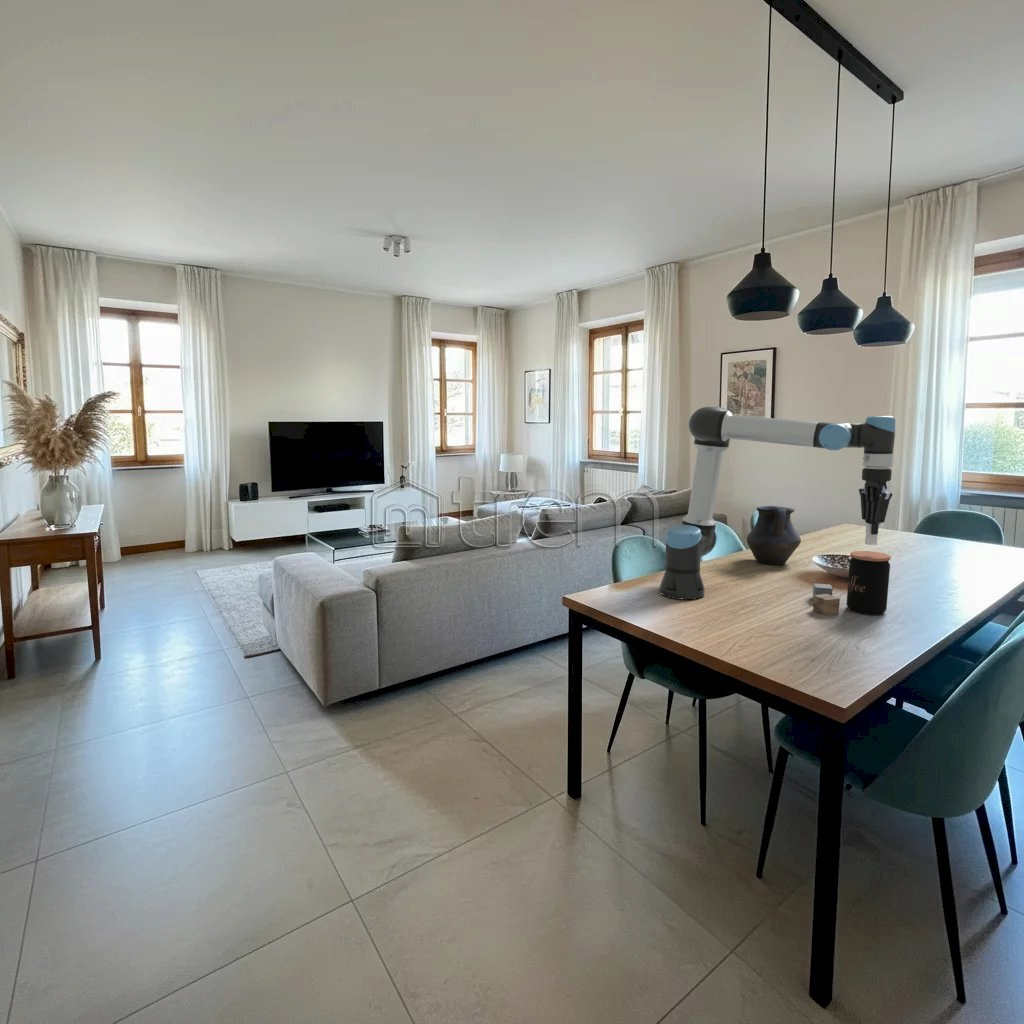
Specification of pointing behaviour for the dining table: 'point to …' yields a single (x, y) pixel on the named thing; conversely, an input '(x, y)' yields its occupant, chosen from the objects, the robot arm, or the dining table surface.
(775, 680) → the dining table surface
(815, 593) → the grey cube
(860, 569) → the coffee jar
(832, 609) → the walnut block
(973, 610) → the dining table surface
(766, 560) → the pitcher
